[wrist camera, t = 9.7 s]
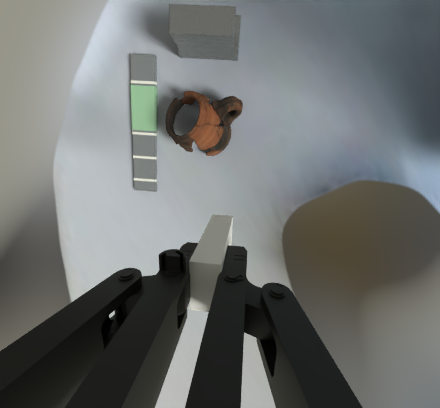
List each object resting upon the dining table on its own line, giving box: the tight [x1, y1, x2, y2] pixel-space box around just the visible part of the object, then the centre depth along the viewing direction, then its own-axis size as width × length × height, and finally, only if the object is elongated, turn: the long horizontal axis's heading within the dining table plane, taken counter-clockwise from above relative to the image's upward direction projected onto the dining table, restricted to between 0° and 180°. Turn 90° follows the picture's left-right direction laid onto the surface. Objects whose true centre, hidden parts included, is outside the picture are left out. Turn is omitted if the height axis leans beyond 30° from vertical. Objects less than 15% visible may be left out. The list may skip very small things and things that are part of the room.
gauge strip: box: [130, 54, 157, 192], centre depth 38 cm, size 22×4×1 cm, turn 176°
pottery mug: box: [165, 91, 243, 156], centre depth 35 cm, size 12×10×8 cm
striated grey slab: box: [169, 4, 241, 60], centre depth 31 cm, size 5×9×8 cm, turn 86°
